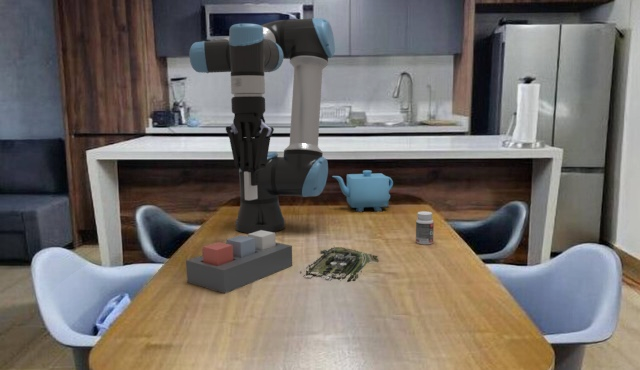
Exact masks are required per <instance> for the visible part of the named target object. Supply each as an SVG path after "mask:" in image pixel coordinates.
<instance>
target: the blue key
mask: <svg viewBox="0 0 640 370" xmlns="http://www.w3.org/2000/svg"><path fill="white" fill-rule="evenodd" d="M225 241H226V243H225V244H230V245H233V256H236V257H240V258H242V257H245V256H248V255H251V254H254V253H255V238H252V237H248V235H243V234H242V235H241V234H240V235H237V236H233V237H230V238H227V239H226V240H225Z"/></svg>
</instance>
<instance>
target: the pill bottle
mask: <svg viewBox="0 0 640 370" xmlns="http://www.w3.org/2000/svg"><path fill="white" fill-rule="evenodd" d="M416 217H417V219H416V220H415V243H416V244H418V245H426V246H427V245H432V244H433V243H434V230H435V229H434V226H435V225H434V223H435V221H434V220H433V213H432V212H431V211H418V212H417V215H416Z"/></svg>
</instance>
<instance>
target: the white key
mask: <svg viewBox="0 0 640 370" xmlns="http://www.w3.org/2000/svg"><path fill="white" fill-rule="evenodd" d="M247 237H252V238H255V249H259V250H265V249H268V248H271V247H274V246H276V243H277V242H276V232H268V231H263V230H260V231H257V232H254V233H247Z"/></svg>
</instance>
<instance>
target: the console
mask: <svg viewBox="0 0 640 370" xmlns="http://www.w3.org/2000/svg"><path fill="white" fill-rule="evenodd" d="M185 266H186V269H185V270H186V282H187V283H190V284H192V285H196V286H199V287H202V288H206V289H209V290H212V291H215V292H220V293H223V294H227V293H229V292H232V291H235V290H237V289H239V288H242V287H245V286H247V285H249V284H251V283H254V282H256V281H258V280H261V279H263V278H266V277H268V276H270V275H273V274H277V273H278V272H281V271H283V270H286V269H288V268H290V267H293V245H291V244H285V243H280V242H276V246H274V247H271V248H268V249H265V250H259V249H255V253H254V254H251V255H248V256H245V257H242V258H240V257H236V256H233V261H231V262H228V263H225V264H222V265H219V266H215V265H211V264H208V263H204V262H203V254H202V255H198V256H196V257H192V258H189V259H186V260H185Z"/></svg>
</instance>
